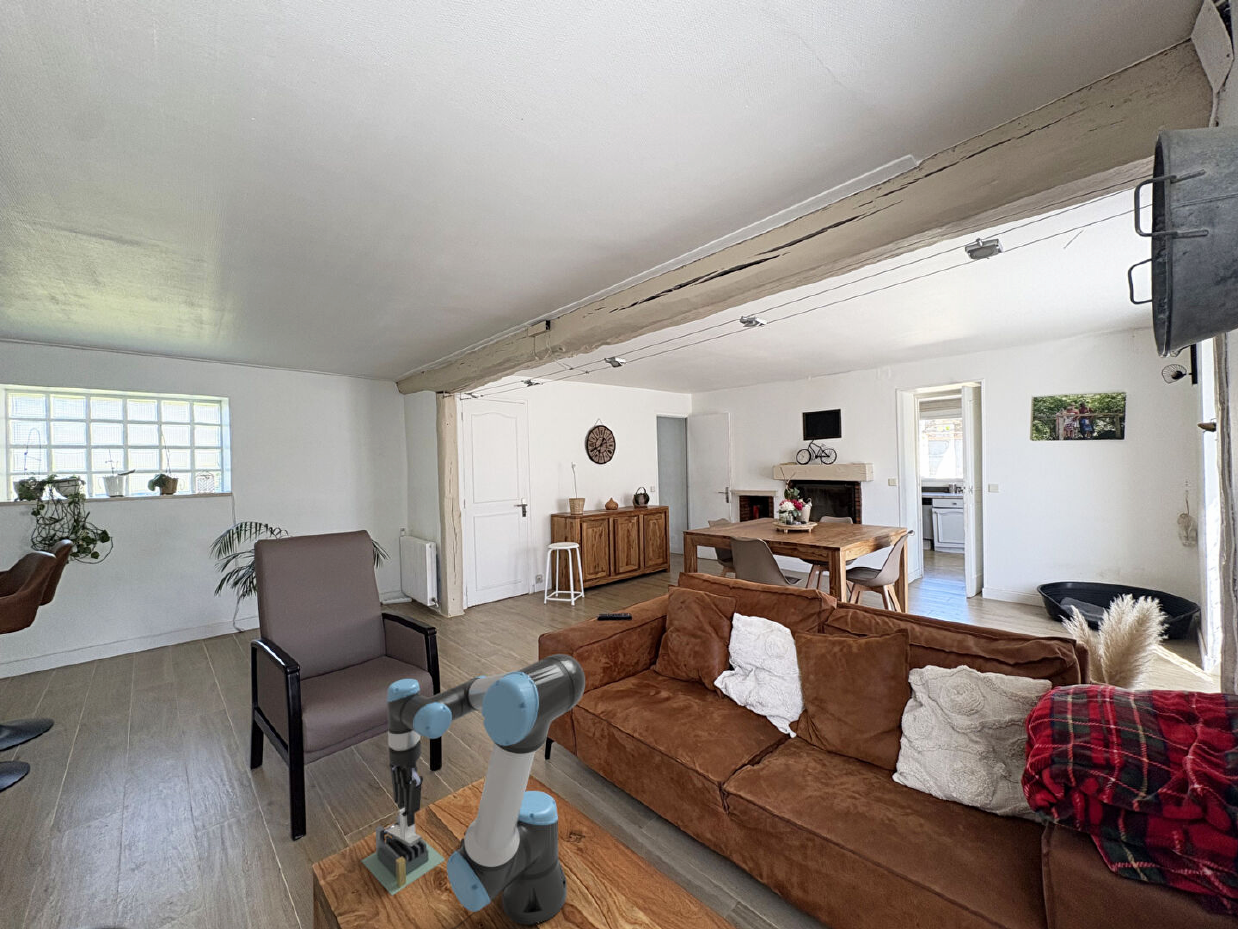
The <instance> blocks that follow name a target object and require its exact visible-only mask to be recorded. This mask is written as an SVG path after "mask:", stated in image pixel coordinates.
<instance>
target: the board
mask: <svg viewBox="0 0 1238 929" xmlns="http://www.w3.org/2000/svg"><path fill="white" fill-rule="evenodd" d="M422 840H423V841H424V842H425V843H426V849H428V857H429V861H428V862H426V863H425V864H423V865H422V866H420V867H419V868H417V869H416V870H414V871H413V872H411V873H410V874H408V875H407V876H406V884H405V885H403V886H402V887H400V888H399V887H398V885H397V882H396V878H395V877H394V876H393V875H392V874H391V873H390V871H389V870H388V869H387V868H386V867H385V866H384V865H383V864H382V863H381V862H380V861H379V860H378V855H377V852H376V851H375V852H374V853H372V854H370V855H369V856H367V857H365V858H364V859H361V863H363V865H364V866H365V867H366V868H367V870H369V871H370V873H371V874H372V875H373V876H374V877H375V878H376V880H378V882H379V883H380V884H381V885H382V886H383V887H384V888H385V889H386V891H388V893H389V894H390V895H391V896H394V895H395V894H398V892H400V891H402V890H403V889H404V888H406V887H407V886H409V885H410V884H412V883H413V882H415V881H416V880H418V879H419V878H421V877H423V875H426V874H427V873H428V872H429V871H431V870H432V869H434V868H435V867H437V866H439V865H440V864H441V863H443V862H444V861H446V858H444V856H442V855H441V854H440V853H439V852H438V851H437V850H435V849H434V848H433V847H432V846H431V845H430V844H429V843H428V842H427V841H425V839H423V838H422Z"/></svg>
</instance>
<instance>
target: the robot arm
mask: <svg viewBox="0 0 1238 929" xmlns="http://www.w3.org/2000/svg"><path fill="white" fill-rule="evenodd" d="M585 687H586V676H585V672H584V670H583V667H582V665H581V664H580V662H579V661H578V660H576V659H575V658H574V657H572V656H570V655H569V654H565V653H564V654H563V653H557V654H556V653H555V654H552V655H548V656H547V657H544V658H542V659H541V660H538V661H535V662H533V663H532V664H531V663H530V665H527V666H525V667H523V668H520V669H515V670H512V671H507V672H503V673H499V674H494V675H490V676H486V675H480V676H477V677H473V678H471V679H469V680H467V681H465V682H463V683H461V684H458V685H456V686H454V687H452V688H448V689H447V690H445V691H444V690H443V691H442V692H439V693H436V694H435V695H433V696H430V697H427V696H426V695H423V694H421V693H420V691H421V688H420V684H419V682H418V680H417V679H414V678H402V679H400V680H396V681H394V682H393V683H391V684H390V685H389V687H388V688H387V696H386V697H387V700H386V704H387V705H386V707H387V709H386V710H387V724H388V725H387V726H388V730H387V733H388V734H387V740H388V758H389V759H388V761H389V764H388V765H389V769H390V774H391V784H392V792H393V802H394V804H397V808H398V809H399V810H398V811H399V813H398V815H399V814H400V836H401V837H402V836H404V839H405V840H406V839H408V838H410V837H411V836H413V835H415V833H416V813H417V812H419V811H421V798H422V797H421V796H422V784H423V782H424V777H423V775H420V776H419V775H418V773H417V772H418V767H417V761H418V760H419V758H420V757H421V754H422V742H421V737H422V736H423V737H424V738H425V737H426V738H428V739H431V740H433V739H438V738H440V737H442V736H444V734H445V732H446V731H448V730H449V728H450V727H451V723H452V722H454V721H456V720H459V719H460V718H461V717H464V716H466V715H468V714H471V713H473V712H478V711H481V716H482V717H483V718H484V720H483V721H482V723H483V726H484V729H485V731H486V734H487V736H489V737H490V740H491V741H492V743H493V745H492V748H491V749H492V750H491V754H490V758H489V762H488V768H487V771H486V776H485V780H484V784H483V789H482V793H481V798H480V802H479V806H478V809H477V810H478V811H477V815H476V818H475V819H474V820H473V821H472V822H471V823H470V824H469V826H468V827H467V829H466V830H467V831H466V830H465V831H466V834H465V835H464V837H463V838H464V842H463V846H462V847H461V846H460V848H459V849H457V850H455V851H453V853H452V854H451V855H450V856H449V858H448V860H447V862H446V873H447V877H448V882H449V884H450V887H451V889H452V891H453V892H454V895H455V897H456V898H457V900H458V901H459V903H460V904H461V905H462V906H463V907H464V909H466V910H467V911H470V912H472V913H473V912H474V913H477V912H478V911H480V910H482V909H483V908H484V907H486V906H487V905H489V904H491V902H492V901H493V900H494V899H496V898H497V896H499V895H500V894H501V893H502V895H501V896H502V899H501V900H502V909H503V911H504V913H505V915H506V916H507V917H508V918H509V919H510V920H511V921H513V922H514V923H515V924H516V923H517V924H521V925H526V926H528V925H529V926H533V925H535V924H534V923H538V922H542V921H544V920H546V921H548V920H550V919H552V918H553V917H554V916H556V915H557V914H558V913H559V912H560V910H562V908H563V907H564V904H565V903H566V900H567V897H568V896H567V895H568V884H567V877H566V875H565V872H564V870H563V869H564V868H563V866H562V865H561V861H560V859H559V858H560V857H559V822H558V821H559V820H558V819H559V815H558V810H557V808H558V807H557V803H556V801H555V799H554V798H553V797H552V796H551V795H550V794H548V793H546V792H544V791H540V790H527V791H526V789H527V785H528V781H529V778H530V774H531V769H532V767H533V761H534V758H535V753H536V752H537V751H538V750H540V749H541V748H542V747H543V746H544V745H545V742H546V740H547V736H548V733H549V730H550V725H551V724H552V722H553V721H554V720H556V719H558V718H559V717H560V716H562V715H564V714H565V713H567V712H569V711H571V710H572V709H573V708H575V706H576V705H577V704H578V703H579V702H580V700H581V699H582V696H583V694H584V691H585ZM544 922H545V921H544ZM542 923H543V922H542ZM538 924H539V923H538Z"/></svg>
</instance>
